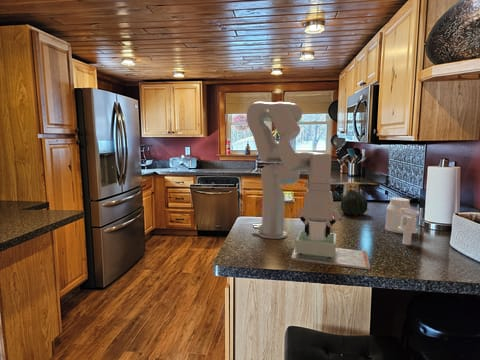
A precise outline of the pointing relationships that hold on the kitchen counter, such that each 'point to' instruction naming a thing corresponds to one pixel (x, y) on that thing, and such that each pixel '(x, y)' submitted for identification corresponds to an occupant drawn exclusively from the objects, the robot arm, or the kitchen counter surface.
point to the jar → (395, 213)
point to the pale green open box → (315, 245)
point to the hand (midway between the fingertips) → (317, 235)
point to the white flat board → (338, 258)
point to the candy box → (350, 187)
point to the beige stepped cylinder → (408, 224)
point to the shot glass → (317, 229)
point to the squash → (354, 203)
